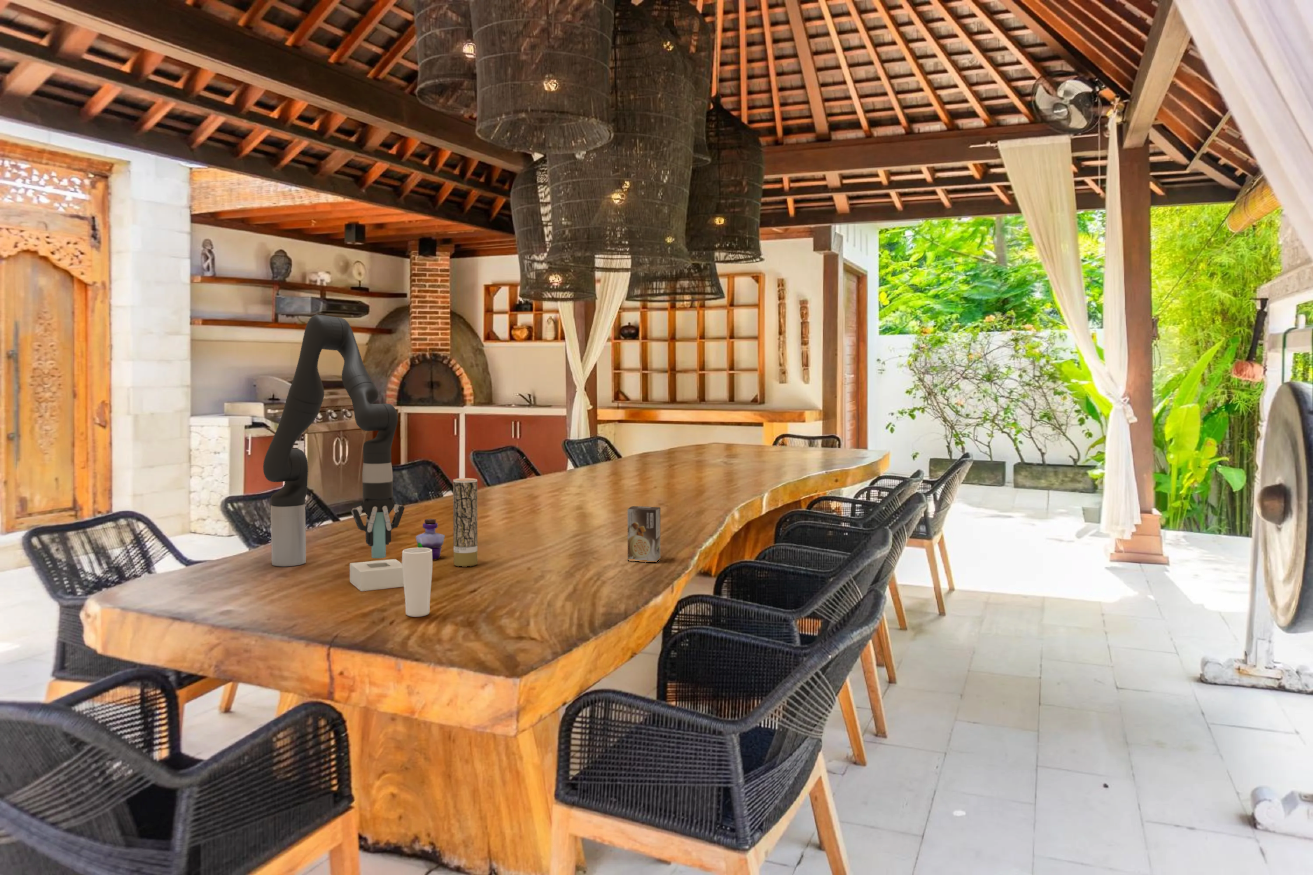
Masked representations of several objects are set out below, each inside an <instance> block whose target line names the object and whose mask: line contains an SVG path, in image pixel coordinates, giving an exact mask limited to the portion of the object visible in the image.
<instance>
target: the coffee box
mask: <svg viewBox="0 0 1313 875" xmlns="http://www.w3.org/2000/svg"><path fill="white" fill-rule="evenodd" d="M659 558H661V507H660V506H659V507H657V506H643V505H642V506H641V505H639V506H638V505H632V506H630V507H629V508H627V560H628V559H635V560H647V561H657V560H658V559H659Z"/></svg>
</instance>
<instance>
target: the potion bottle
mask: <svg viewBox="0 0 1313 875" xmlns="http://www.w3.org/2000/svg"><path fill="white" fill-rule="evenodd" d="M422 528H423V529H424V530H425V532H423V533H419V534H417V535H416V536H415V539H416V544H417V546H416V548H429V549H432V561H434V560H433V559H437V560H439V559H440V558H441V551H442V549H443V548H442V546H443V545H444V540H445V534H443V533H438V532H436V529H438V528H439V524H438V522H437V520H436V519H435V518H425V519H424V522H423V523H422ZM438 558H439V559H438Z"/></svg>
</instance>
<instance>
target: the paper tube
mask: <svg viewBox="0 0 1313 875" xmlns="http://www.w3.org/2000/svg"><path fill="white" fill-rule="evenodd" d="M452 485H453V486H452V488H453V489H452V490H453V492H452V495H453V497H452V501H453V502H452V504H453V506H452V509H453V511H452V512H453V514H452V515H453V517H452V518H453V526H452V527H453V531H452V532H453V533H452V534H453V537H452V538H453V564H454V566H456V567H459V566H462V567H461V568H467V566H470V567H474V566H476V565H477V564H478V479H477V478H469V477H464V478H463V477H462V478H454V479H453V480H452Z"/></svg>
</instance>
